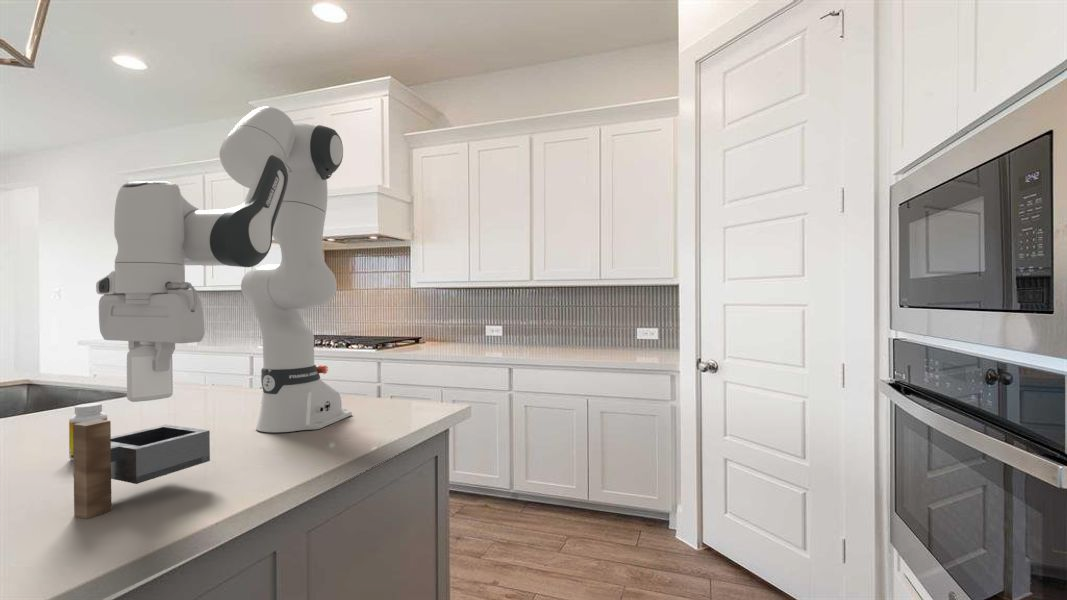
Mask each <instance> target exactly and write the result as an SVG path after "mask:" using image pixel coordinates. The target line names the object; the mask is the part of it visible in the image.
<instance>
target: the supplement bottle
mask: <svg viewBox="0 0 1067 600" xmlns="http://www.w3.org/2000/svg"><path fill="white" fill-rule="evenodd" d="M97 419H100V420H107V421H108V414H107V413H106V412H103V403H101V402H91V403H81V404H78V405H75V406H74V415H72V416H71V417H70V418H69V419H68V425H69V426H68V440H69V441H68V447H69V449H68V450H69V451H68V454H69V455H68V456H69V459H70V461H72V462H74V458H73V424H76V423H81V422H86V421H92V420H97Z"/></svg>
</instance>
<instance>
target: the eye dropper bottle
mask: <svg viewBox="0 0 1067 600" xmlns="http://www.w3.org/2000/svg"><path fill="white" fill-rule="evenodd" d="M140 344H143V345H141V346H140V347H137V348H134V349H132V350H129V351H128V352H127V353H126V398H127V400H128V401H129V402H132V403H137V402H147V401H155V400H162V399H163V400H164V399H168V398H171V397H172V396H173V392H174V389H173V388H174V387H173V383H174V382H173V380H174V379H173V355H172V356H171V359H170V369H169V370H168V371H162V372H157V371H154V370H153V369H152V360H155V358H156V355H157V351H158V349H155V342H140Z"/></svg>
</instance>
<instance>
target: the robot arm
mask: <svg viewBox="0 0 1067 600" xmlns="http://www.w3.org/2000/svg"><path fill="white" fill-rule="evenodd" d="M341 138H342V137H340V135H339V133H338V132H337V131H336V130H335V129H334V128H331V127H328V126H325V125H321V124H320V125H319V124H318V125H314V124H309V123H302V122H293V120H292V119H291V117H290V116H289V115H288V114H287V113H285V112H284V111H282V110H281V109H278V108H276V107H273V106H260V107H258V108H255V109H254V110H252V111H251V112H249V113H248V114H247V115H245V116H244V117H243V118H242V119H240V121H239V122H238V123H237V124H236V125H235V126H234V127H233V128H232V130H230V132H229V133H228V134H227V136H226V137H225V138H224V140H223V141H222V143H221V146H220V149H219V160H220V163H221V166H222V167H223V169H224V171H225V172H226V173H227V174H228V176H230V177H229V178H231V179H233V180H234V181H235V182H236V183H238V184H239V185H241V186H243V187H245V188H247V189H249V190H248V192H247V194H246V197H245V198H244V201H243V203H242V204H240V205H237V206H234V207H230V208H226V209H204V210H203V209H202V210H201V209H200V208H198V207H196V206H194V205H193V204H191V203H190V202H189V201H188V200H186V198H185V197H184V196H183V195H182V194H181V189H180V187H179V185H178V184H176V183H173V182H170V181H161V180H152V181H149V180H143V181H130V182H126V183H125V184H122V185H121V187H120V188H119V190H118V192H117V195H116V200H115V204H114V205H115V207H114V219H113V225H114V226H113V229H114V230H113V231H114V238H115V240H116V243H117V253H116V256H115V257H114V258H115V259H114V270H112V271H111V272H109V274H108V275H106V276H104V277H103V278H101V279H99V280H98V281H97V282H96V284H95V291H96V294H98V295H101V296H100V298H99V301H98V323H99V325H98V326H99V332H100V334H101V336H102V338H103V340H104V341H116V342H118V341H120V342H128V343H127V344H128V350H129V351H130V350H132V349H134V348H137V347H140V346H141V345H143V344H140V342H155V349H158V351H157V355H156V358H155V360H152V369H153V370H154V371H157V372H162V371H168V370H169V369H170V359H171V356H172V357H173V354H174V353H175V352H174V351H175V349H176V344H190V343H192V344H193V343H200V342H202V340H203V339H204V337H205V335H206V334H205V333H206V332H205V330H206V329H205V318H204V310H203V304H202V301H201V299H200V297H199V296H198V290H197V289H196V288H195V287H194V286H193V285H192V283H191V282H188V281H186V266H204V267H205V266H206V267H207V266H209V267H211V266H212V267H213V266H218V267H219V266H229V267H237V268H238V267H239V268H252V267H254V268H252V269H250V270H248V271H247V272H246V273H245V274H244V276H243V277H242V280H241V282H240V283H241V284H240V290H241V293H242V296H243V298H244V300H246V301H247V302H248V303H249V304H250V306H251V307H252V309H253V310H254V313H255V316H256V318H257V321H258V324H259V327H260V332H261V339H262V359H263V360H262V361H263V362H262V363H263V366H262V368H261V372H260V374H261V375H260V376H261V377H260V380H261V381H260V383H261V388H262V396H261V404H260V411H259V416H258V418H257V419H258V420H257V423H256V426H255V430H256V431H259V432H261V433H262V432H264V433H289V432H296V431H308V430H311V431H312V430H319V429H322V428H324V427H326V426H329V425H333V423H336V422H339V421H341V420H344V419H346V418H347V417H351V416H352V415H353V412H352V410H349V409H347V408H346V409H345V408H343V404H342V397H341V394H340V392H338V390H336V389H335V388H333V387H332V386H330V385H329V384H328V383H326V382H325V381H323V380H322V379H321V375H320V374H323V375H324V374H327V373H328V372H329V367H328V365H318V366H317V365H316V364H315V336H314V333H313V331H312V329H310V327H308V326H307V324H306V323H305V322H304V320H303V317H302V315H301V311H300V310H308V309H309V310H310V309H314V308H318V307H321V306H325V305H327V304H328V303H330V302H331V301H332V300H333V299H334V297H335V296H336V293H337V287H338V286H337V285H338V284H337V279H336V276H335V274H334V272H333V271H332V270H331V268H329V266H328V265H327V263H326V262H325V256H324V253H323V252H324V251H323V235H324V230H325V229H324V228H325V221H326V215H327V208H328V179H330V178H331V177H332V175H333V174H334V173H336V171H337V170H338V169H339V167H340V166H341V164H342V162H343V157H344V147H343V141H342V139H341ZM273 239H274V241H275V242H276V243H277V244H278V245H279V246H280V253H281V262H280V263H268V264H267V263H266V264H263V265H260V266H257V265H259V264H260V263H261V262H262V261H263V260H264V259H265V258H266V257H267V255H268V254H269V252H270V250H271V248H272V243H273ZM255 266H257V267H255Z"/></svg>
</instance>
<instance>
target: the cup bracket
mask: <svg viewBox="0 0 1067 600" xmlns="http://www.w3.org/2000/svg"><path fill="white" fill-rule="evenodd" d="M111 426H112V425H111V420H108V419H107V420H100V419H97V420H92V421H86V422H81V423H76V424H73V458H74V461H73V517H78V518H83V519H84V520H85V519H86V520H89V519H91V518H93V517H97V516H99V515H103V514H106V513H108V512H111V511H112V507H113V505H112V480H116V481H121V482H123V483H124V482H125V483H129V484H135V485H137V484H141V483H146V482H148V481H150V480H154V479H157V478H160V477H163V476H167V475H169V474H172V473H176V472H180V471H182V470H186V469H189V468H191V467H194V466H198V465H202V464H205V463H208V462H210V461H211V449H210V448H211V443H210V441H211V438H210V437H211V436H210V435H211V434H210V433H211V432H210V430H208V429H200V428H195V427H194V428H193V427H185V426H178V425H171V424H164V425H163V424H162V425H159V426H155V427H151V428H150V427H149V428H145V429H141V430H136V431H132V432H128V433H122V434H119V435H115V436H111V434H112V433H111V429H112V428H111Z"/></svg>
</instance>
